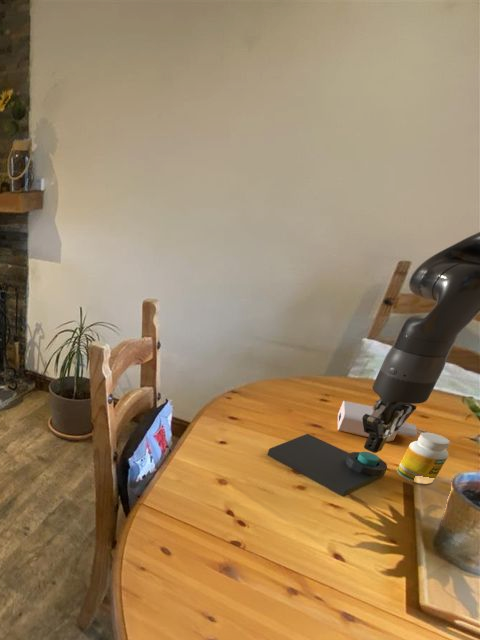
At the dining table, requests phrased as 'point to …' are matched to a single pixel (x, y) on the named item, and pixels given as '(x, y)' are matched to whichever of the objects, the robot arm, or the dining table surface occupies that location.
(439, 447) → the supplement bottle
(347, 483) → the scale
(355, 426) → the charger
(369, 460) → the tare button
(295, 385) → the dining table surface
